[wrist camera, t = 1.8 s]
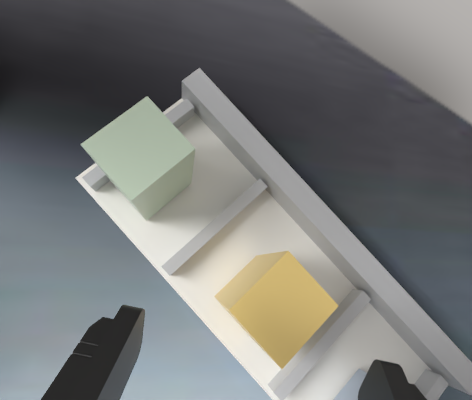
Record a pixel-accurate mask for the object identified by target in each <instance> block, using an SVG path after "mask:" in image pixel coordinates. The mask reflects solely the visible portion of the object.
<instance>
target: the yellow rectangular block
mask: <svg viewBox="0 0 472 400" xmlns="http://www.w3.org/2000/svg"><path fill="white" fill-rule="evenodd" d="M214 297H215V298H216V299H217V300H218V301H219V303H220V304H221V305H222V306H223V307H224V308H225V309H226V310H227V311H228V313H229V314H230V315H231V316H232V317H233V318H234V319H235V320H236V322H237V323H238V324H239V325H240V326H241V327H242V328H243V329H244V330H245V332H246V333H247V334H248V335H249V336H250V337H251V338H252V339H253V340H254V341H255V342H256V343H257V344H258V345H259V346H260V347H261V348H262V350H263V351H264V352H265V353H266V354H267V355H268V356H269V357H270V358H271V359H272V360H273V361H274V362H275V363H276V364H277V365H278V366H279V367H280V368H281V369H283V368H284V367H285V366H286V364H287V363H288V362H289V361H290V360H291V359H292V358H293V357H294V356H295V354H296V353H297V352H298V351H299V350H300V349H301V348H302V347H303V345H304V344H305V343H306V342H307V341H308V340H309V339H310V338H311V337H312V335H313V334H314V333H315V332H316V331H317V330H318V329H319V328H320V326H321V325H322V324H323V323H324V322H325V321H326V320H327V319H328V318H329V316H330V315H331V314H332V313H333V312H334V311H335V310H336V309H337V307H338V304H337V303H336V302H335V301H334V300H333V299H332V298H331V297H330V296H329V295H328V294H327V292H326V291H325V290H324V289H323V288H322V287H321V286H320V285H319V284H318V283H317V281H316V280H315V279H314V278H313V277H312V276H311V275H310V274H309V273H308V272H307V270H306V269H305V268H304V267H303V266H302V265H301V264H300V263H299V262H298V261H297V260H296V258H295V257H294V256H293V255H292V254H291V253H290V252H289V251H283V252H276V253H269V254H262V255H256V256H255V257H254V258H253V259H252V260H251V261H250V262H249V263H248V264H247V265H246V266H245V267H244V268H243V269H242V270H241V271H240V272H239V273H238V274H237V275H236V276H235V277H234V278H233V279H232V280H231V281H230V282H229V283H228V284H226V285H225V286H224V287H223V288H222V289H221V290H220V291H219V292H218V293H217V294H216V295H215V296H214Z"/></svg>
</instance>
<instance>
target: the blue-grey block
mask: <svg viewBox="0 0 472 400" xmlns="http://www.w3.org/2000/svg"><path fill="white" fill-rule="evenodd" d="M366 374H367V373H366V372H364V371H363V370H361V369H358V370H357V371H356V373H355V374H354V375H353V376H352V377H351V379H350V380H349V381H348V382H347V384H346V385H345V386H344V387H343V388H342V390H341V391H340V392H339V393H338V394H337V396H336V397H335V398H334V399H333V400H358V392H359V389H360V386H361V384H362V382H363V380H364V378H365V376H366Z"/></svg>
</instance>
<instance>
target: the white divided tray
mask: <svg viewBox="0 0 472 400" xmlns="http://www.w3.org/2000/svg"><path fill="white" fill-rule="evenodd" d="M163 114H164V115H165V116H166V117H167V118H168V119H169V120H170V121H171V122H172V124H173V125H174V126H175V127H176V128H177V129H178V130H179V131H180V132H181V133H182V135H183V136H184V137H185V138H186V139H187V140H188V141H189V142H190V143H191V144H192V146H193V147H194V148H195V157H194V165H193V174H192V182H191V184H190V185H189V186H188V187H187V188H185V189H184V190H183V191H182V192H181V193H179V194H178V195H177V196H176V197H175V198H173V199H172V200H171V201H170V202H169V203H168V204H166V205H165V206H164V207H163V208H162V209H160V210H159V211H158V212H157V213H156V214H154V215H153V216H152V217H151V218H150V219H148V220H147V221H146V220H145V219H144V218H143V217H142V215H141V214H140V213H139V212H138V211H137V210H136V209H135V208H134V206H133V205H132V204H131V203H130V202H129V201H128V200H127V199H126V198H125V196H124V195H123V194H122V193H121V192H120V191H119V190H118V189H117V187H116V186H115V185H114V184H113V183H112V182H111V181H110V179H109V178H108V177H107V176H106V175H105V173H104V172H103V171H102V170H101V169H100V167H99V166H98V165H97V164H96V163H95V164H93V165H92V166H91V167H89V168H88V169H87V170H85V171H84V172H83V173H81V174H80V175H79V176H77V177H76V179H77V180H78V182H79V183H80V184H81V185H82V186H83V187H84V188H85V189H86V190H87V192H88V193H89V194H90V195H91V196H92V197H93V198H94V199H95V201H96V202H97V203H98V204H99V205H100V206H101V207H102V208H103V210H104V211H105V212H106V213H107V214H108V215H109V216H110V217H111V219H112V220H113V221H114V222H115V223H116V224H117V225H118V226H119V228H120V229H121V230H122V231H123V232H124V233H125V234H126V235H127V237H128V238H129V239H130V240H131V241H132V242H133V243H134V244H135V246H136V247H137V248H138V249H139V250H140V251H141V252H142V253H143V255H144V256H145V257H146V258H147V259H148V260H149V261H150V262H151V264H152V265H153V266H154V267H155V268H156V269H157V270H158V271H159V273H160V274H161V275H162V276H163V277H164V278H165V279H166V280H167V282H168V283H169V284H170V285H171V286H172V287H173V288H174V289H175V290H176V292H177V293H178V294H179V295H180V296H181V297H182V298H183V299H184V301H185V302H186V303H187V304H188V305H189V306H190V307H191V308H192V310H193V311H194V312H195V313H196V314H197V315H198V316H199V317H200V319H201V320H202V321H203V322H204V323H205V324H206V325H207V326H208V328H209V329H210V330H211V331H212V332H213V333H214V334H215V335H216V337H217V338H218V339H219V340H220V341H221V342H222V343H223V344H224V346H225V347H226V348H227V349H228V350H229V351H230V352H231V353H232V355H233V356H234V357H235V358H236V359H237V360H238V361H239V362H240V364H241V365H242V366H243V367H244V368H245V369H246V370H247V371H248V373H249V374H250V375H251V376H252V377H253V378H254V379H255V380H256V382H257V383H258V384H259V385H260V386H261V387H262V388H263V389H264V390H265V392H266V393H267V394H268V395H269V396H270V397H271V398H272V399H273V400H333V399H334V398H335V397H336V396H337V394H338V393H339V392H340V391H341V390H342V388H343V387H344V386H345V385H346V384H347V382H348V381H349V380H350V379H351V377H352V376H353V375H354V374H355V373H356V371H357V370H358V369H361V370H363V371H364V372H366V373H367V372H368V370H369V368H370V366H371V364H372V362H373V361H374V360H376V359H377V360H382V361H387V362H391V363H396V364H399V365H400V366H401V367H402V369H403V371H404V373H405V376H406V378H407V380H408V383H410V384H415V385H416V387H417V388H418V389H419V390H420V392H421V393H422V394H423V395H424V397H425V398H426V399H427V400H438V399H439V397H440V396H441V395H442V393H443V392H444V391H445V389H446V388H447V386H450V387H453V388H455V389H457V390H459V391H462V392H464V393H466V394H468V395H471V396H472V362H471V361H470V360H469V359H468V358H467V357H466V356H465V355H464V354H463V353H462V351H461V350H460V349H459V348H458V347H457V346H456V345H455V344H454V343H453V342H452V341H451V340H450V338H449V337H448V336H447V335H446V334H445V333H444V332H443V331H442V330H441V329H440V328H439V327H438V325H437V324H436V323H435V322H434V321H433V320H432V319H431V318H430V317H429V316H428V315H427V314H426V312H425V311H424V310H423V309H422V308H421V307H420V306H419V305H418V304H417V303H416V302H415V301H414V299H413V298H412V297H411V296H410V295H409V294H408V293H407V292H406V291H405V290H404V289H403V288H402V287H401V285H400V284H399V283H398V282H397V281H396V280H395V279H394V278H393V277H392V276H391V275H390V274H389V272H388V271H387V270H386V269H385V268H384V267H383V266H382V265H381V264H380V263H379V262H378V261H377V259H376V258H375V257H374V256H373V255H372V254H371V253H370V252H369V251H368V250H367V249H366V248H365V246H364V245H363V244H362V243H361V242H360V241H359V240H358V239H357V238H356V237H355V236H354V235H353V233H352V232H351V231H350V230H349V229H348V228H347V227H346V226H345V225H344V224H343V223H342V222H341V220H340V219H339V218H338V217H337V216H336V215H335V214H334V213H333V212H332V211H331V210H330V209H329V207H328V206H327V205H326V204H325V203H324V202H323V201H322V200H321V199H320V198H319V197H318V196H317V195H316V193H315V192H314V191H313V190H312V189H311V188H310V187H309V186H308V185H307V184H306V183H305V182H304V180H303V179H302V178H301V177H300V176H299V175H298V174H297V173H296V172H295V171H294V170H293V169H292V167H291V166H290V165H289V164H288V163H287V162H286V161H285V160H284V159H283V158H282V157H281V156H280V154H279V153H278V152H277V151H276V150H275V149H274V148H273V147H272V146H271V145H270V144H269V143H268V141H267V140H266V139H265V138H264V137H263V136H262V135H261V134H260V133H259V132H258V131H257V130H256V128H255V127H254V126H253V125H252V124H251V123H250V122H249V121H248V120H247V119H246V118H245V117H244V115H243V114H242V113H241V112H240V111H239V110H238V109H237V108H236V107H235V106H234V105H233V104H232V103H231V101H230V100H229V99H228V98H227V97H226V96H225V95H224V94H223V93H222V92H221V91H220V90H219V88H218V87H217V86H216V85H215V84H214V83H213V82H212V81H211V80H210V79H209V78H208V77H207V75H206V74H205V73H204V72H203V71H202V70H201V69H200V68H199V69H197V70H196V71H195V72H193V73H192V74H191V75H189V76H188V77H186V78H185V79H184V80H182V98H181V99H180V100H179V101H177V102H176V103H175V104H173V105H172V106H171V107H169V108H168V109H167V110H165V111H164V112H163ZM283 251H289V252H290V253H291V254H292V255H293V256H294V257H295V258H296V260H297V261H298V262H299V263H300V264H301V265H302V266H303V267H304V268H305V269H306V270H307V272H308V273H309V274H310V275H311V276H312V277H313V278H314V279H315V280H316V281H317V283H318V284H319V285H320V286H321V287H322V288H323V289H324V290H325V291H326V292H327V294H328V295H329V296H330V297H331V298H332V299H333V300H334V301H335V302H336V303H337V304H338V307H337V309H336V310H335V311H334V312H333V313H332V314H331V315H330V316H329V318H328V319H327V320H326V321H325V322H324V323H323V324H322V325H321V326H320V328H319V329H318V330H317V331H316V332H315V333H314V334H313V335H312V337H311V338H310V339H309V340H308V341H307V342H306V343H305V344H304V345H303V347H302V348H301V349H300V350H299V351H298V352H297V353H296V354H295V356H294V357H293V358H292V359H291V360H290V361H289V362H288V363H287V364H286V366H285V367H284V368H283V369H281V368H280V367H279V366H278V365H277V364H276V363H275V362H274V361H273V360H272V359H271V358H270V357H269V356H268V355H267V354H266V353H265V352H264V351H263V350H262V348H261V347H260V346H259V345H258V344H257V343H256V342H255V341H254V340H253V339H252V338H251V337H250V336H249V335H248V334H247V333H246V332H245V330H244V329H243V328H242V327H241V326H240V325H239V324H238V323H237V322H236V320H235V319H234V318H233V317H232V316H231V315H230V314H229V313H228V311H227V310H226V309H225V308H224V307H223V306H222V305H221V304H220V303H219V301H218V300H217V299H216V298H215V297H214V296H215V295H216V294H217V293H218V292H219V291H220V290H221V289H222V288H223V287H224V286H225V285H226V284H228V283H229V282H230V281H231V280H232V279H233V278H234V277H235V276H236V275H237V274H238V273H239V272H240V271H241V270H242V269H243V268H244V267H245V266H246V265H247V264H248V263H249V262H250V261H251V260H252V259H253V258H254V257H255V256H256V255H262V254H269V253H276V252H283Z"/></svg>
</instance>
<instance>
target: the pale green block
mask: <svg viewBox="0 0 472 400" xmlns="http://www.w3.org/2000/svg"><path fill="white" fill-rule="evenodd" d="M81 146H82V147H83V148H84V149H85V151H86V152H87V153H88V154H89V155H90V157H91V158H92V159H93V160H94V161H95V163H96V164H97V165H98V166H99V167H100V169H101V170H102V171H103V172H104V173H105V175H106V176H107V177H108V178H109V179H110V181H111V182H112V183H113V184H114V185H115V186H116V187H117V189H118V190H119V191H120V192H121V193H122V194H123V195H124V196H125V198H126V199H127V200H128V201H129V202H130V203H131V204H132V205H133V206H134V208H135V209H136V210H137V211H138V212H139V213H140V214H141V215H142V217H143V218H144V219H145V220H146V221H147V220H148V219H150V218H151V217H152V216H153V215H154V214H156V213H157V212H158V211H159V210H160V209H162V208H163V207H164V206H165V205H166V204H168V203H169V202H170V201H171V200H172V199H173V198H175V197H176V196H177V195H178V194H179V193H181V192H182V191H183V190H184V189H185V188H187V187H188V186H189V185H190V184H191V182H192V174H193V165H194V157H195V148H194V147H193V146H192V144H191V143H190V142H189V141H188V140H187V139H186V138H185V137H184V136H183V135H182V133H181V132H180V131H179V130H178V129H177V128H176V127H175V126H174V125H173V124H172V122H171V121H170V120H169V119H168V118H167V117H166V116H165V115H164V114H163V113H162V112H161V110H160V109H159V108H158V107H157V106H156V105H155V104H154V103H153V102H152V101H151V99H150V98H149V97H148V96H147V97H145V98H144V99H142V100H141V101H140V102H138V103H137V104H136V105H134V106H133V107H131V108H130V109H129V110H127V111H126V112H124V113H123V114H122V115H120V116H119V117H118V118H116V119H115V120H113V121H112V122H111V123H109V124H108V125H107V126H105V127H104V128H102V129H101V130H100V131H98V132H97V133H95V134H94V135H93V136H91V137H90V138H89V139H87V140H86V141H84V142H83V143H82V144H81Z"/></svg>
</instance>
